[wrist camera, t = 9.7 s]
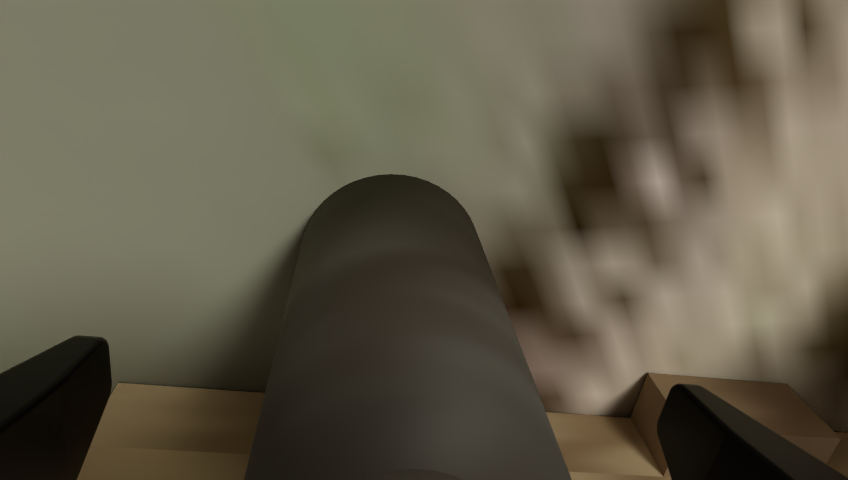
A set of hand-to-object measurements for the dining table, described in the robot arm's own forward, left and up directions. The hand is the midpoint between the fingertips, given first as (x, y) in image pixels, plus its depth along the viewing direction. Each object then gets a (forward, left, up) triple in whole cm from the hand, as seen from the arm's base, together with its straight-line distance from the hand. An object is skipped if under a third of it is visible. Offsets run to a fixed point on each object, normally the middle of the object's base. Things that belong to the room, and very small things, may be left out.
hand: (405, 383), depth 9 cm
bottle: (0, 0, -4) cm, 4 cm away
